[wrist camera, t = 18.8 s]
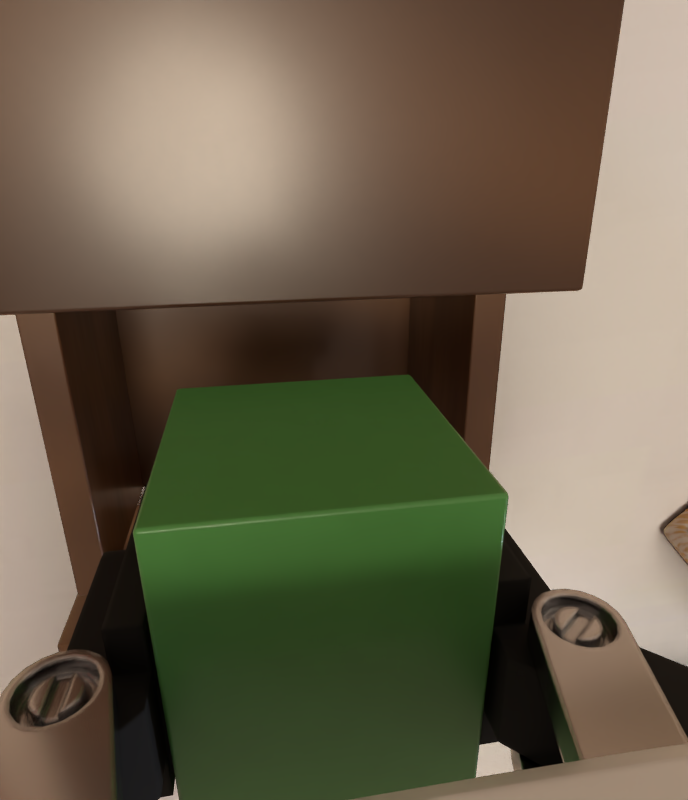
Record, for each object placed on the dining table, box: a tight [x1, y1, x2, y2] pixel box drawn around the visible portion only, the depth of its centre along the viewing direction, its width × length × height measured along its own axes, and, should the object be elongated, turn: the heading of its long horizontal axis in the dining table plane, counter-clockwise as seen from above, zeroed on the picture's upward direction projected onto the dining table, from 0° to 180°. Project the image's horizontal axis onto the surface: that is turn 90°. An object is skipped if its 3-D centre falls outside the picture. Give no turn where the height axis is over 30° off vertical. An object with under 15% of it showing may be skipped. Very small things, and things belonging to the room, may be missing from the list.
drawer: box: [16, 294, 506, 652], centre depth 18 cm, size 20×12×7 cm, turn 0°
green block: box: [133, 375, 508, 800], centre depth 10 cm, size 6×4×4 cm
